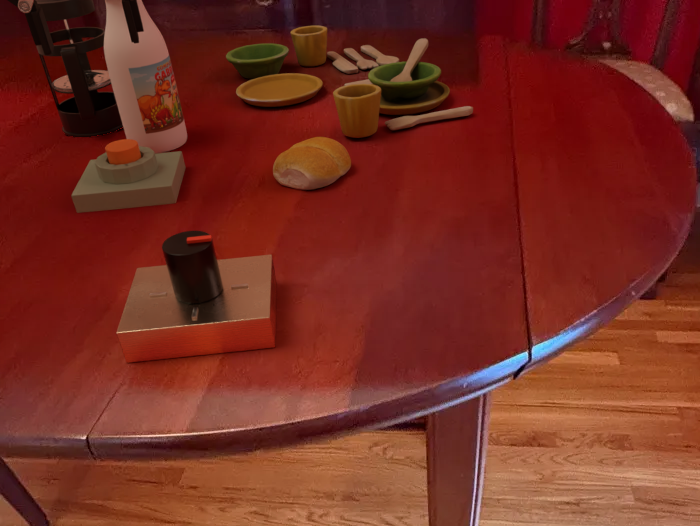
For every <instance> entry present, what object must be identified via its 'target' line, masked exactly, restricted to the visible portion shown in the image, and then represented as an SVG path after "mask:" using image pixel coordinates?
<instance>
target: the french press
mask: <svg viewBox="0 0 700 526" xmlns="http://www.w3.org/2000/svg"><path fill="white" fill-rule="evenodd" d="M35 1H37V4H38V6H40V8H42V10H43V13H44V16H45V19H46V22H56V21H57V22H58V21H63V23H64V26H65V29H59V30H56V31H52V32H50V35H51V38H52V41H53V44H54V49H53V52H52V53H51V55H46V56H45V54H44V52H43V49H42V46H41V45H38V46H36V45H35V47H36V50H37V53H38V56H39V59H40V62H41V65H42V69H43V71H44V74H45V78H46V80H47V84H48V86H49V89H50V92H51V95H52V98H53V101H54V104H55V107H56V110H57V113H58V116H59V119H60V122H61V125H62V127H61V129H62V133H63V132H64V133H65V134H66V135H68V136H67V137H70V136H73V137H72V138H75V137H89V138H92V137H91V136H97V135H102V136H104V135H103V134H107V133H110V132H113V133H115V132H114V131H116V130H118V129H120V128H122V127H123V124H122V120H121V117H120V113H119V109H118V106H117V102H116V99H115V95H114V91H98V90H101V89H104V88H106V87H108V86H110V85H112V84H111V80H110V76H109V72H108V70H104V69H94V70H93V69H92V68H91V64H90V60H89V57H88V54H87V53H90V52H93V51H96V50H98V49H101V48H104V35H105V29H104V28H101V27H96V26H82V27H71V28H70V26H69V23H68V20H71V19H75V18H81V17H84V16H87V15H89V14H92V13H93V12H95V10H96V8H95V3H94V0H35ZM85 38H86V40H83V39H85ZM89 38H90V39H89ZM62 41H63V42H64V41H68V42H69V43H65V44H55V43H60V42H62ZM45 57H61V58H62V62H63V66H64V69H65V72H66V75H63V76H60V77H58V78H57V79H54V80H53V81H52V77H51V75H50V72H49V69H48V66H47V63H46V60H45ZM57 93H60V94H65V95H66V94H69V95H73V96H72V97H69V98H67V99H65V100H62V101H61V102H60V103H59V100H58V96H57ZM64 133H63V134H64ZM65 134H64V135H65ZM110 134H111V133H110ZM66 135H65V136H66ZM107 135H108V134H107ZM97 137H98V136H97Z"/></svg>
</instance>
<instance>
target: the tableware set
mask: <svg viewBox="0 0 700 526" xmlns="http://www.w3.org/2000/svg"><path fill="white" fill-rule="evenodd" d="M289 32H290V37H291V40H292V44H293V47H294V53H295V55H296V59H297V63H298V64H299V66H301V67H306V68H307V67H317V66H321V65H323V64H325V63H326V60H327V58H328V59H330V60H332V61H333V62H332V66H334V68H336V69H337V70H339V71H340V72H341V73H344V74H347V75H352V74H357V73H359V70H363V71H365V70H367V69H371V70H370V71H369V72H368V73H367V79H363V80H362V79H361V80H357V81H352V82H346V83H344V85H342V86H340V87H338V88H335V89H334V91H333V92H332V95H333V100H334V103H335V108H336V111H337V112H336V113H337V117H338V120H339V125H340V129H341V133H342V134H343V135H344V136H346V137H348V138H353V139H360V138H361V139H362V138H366V137H370V136H372V135H374V134H376V133H377V131H378V128H379V119H380V118H379V116H380V114H382V115H389V116H400V117H396V118H392V119H389V120H386V121H384V125H385V126H386V127H387V128H388V129H389V130H390V131H398V130H403V129H408V128H413V127H414V126H416V125H418V124H422V123H423V124H424V123H429V122H435V121H442V120H450V119H455V118H461V117H468V116H470V115H472V114H473V113H474V107H473V106H470V105H464V106H460V107H455V108H450V109H444V110H439V111H434V112H433V111H432V112H429V113H425V112H428V111H431V110H433V109H435V108H437V107H439V106H440V105H441V104H442V103H444V101H445V100H446V99H447V98H448V97H449V95H450V92H451V90H450V87H449V86H448V85H447V84H445V83H444V82H441V81H438V80H439V78H440V77H441V75H442V69H441V68H440V67H439V66H437V65H436V64H433V63H430V62H424V61H421V59H422V57H423V55H424V54H425V52H426V51H427V49H428V47H429V40H428V39H427V38H425V37H424V38H419V39H417V40H416V41H415V43H414V45H413V47H412V49H411V51H410V54H409V56H408V59H407V60H406V61H400V58H399V57H397V56H393V55H385V54H383V53H382V52H380V51H379V50H378V49H376V48H375V47H374V46H372V45H370V44H365V45H364V44H363V45H361V46H360V52H361V53H363V54H365V55H367V56H368V57H371V58H372V59H375V61H374V60H371V59H366V58H364V57H363V56H362V55H361V54H360V53H358V51H356V50H355V49H354V48H352V47H346V48H344V49H343V54H344V55H345V56H347V57H348V58H349V59H351V60H353V61H354V62H356V65H355V64H353V62H350V61H349V60H348V59H346V58H345V57H343V56H342V55H340V54H339V53H337V52H336V51H333V50H332V51H327V49H328V48H327V47H328V27H327V26H323V25H317V24H316V25H306V26H299V27H296V28H294V29H292V30H291V31H289ZM289 52H290V49H289V48H288V46H286V45H283V44H280V43H272V42H271V43H255V44H254V43H253V44H248V45H243V46H239V47H236V48H234V49H231V50H229V51H228V52H227V53H226V55H225V58H226V61H228V62H229V63H230V64H232V66H233V67H234V69H235V71H237V72H238V73H239V75H240V76H241V77H242V78H245V79H249V80H247V81H245V82H243V83H241V84H240V85H239V86H238V87H237V88H236V89H235V90H236V91H235V94H236V96H238V98H239V99H241V100H242V101H243V102H245V103H247V104H248V105H250V106H255V107H263V108H276V107H285V106H292V105H296V104H300V103H304V102H306V101H309V100H311V99H312V98H314V97H315V96H317V94H318V92H319V91H320V90H321V89H322V87H323V84H324V82H323V81H322V79H321V78H320V77H317V76H315V75H312V74H306V73H295V72H289V73H287V72H285V73H280V71H281V69H282V66H283V63H284V61H285V59H286V58H287V56H288V54H289ZM420 113H423V114H420ZM413 114H420V115H413ZM401 115H403V116H401Z"/></svg>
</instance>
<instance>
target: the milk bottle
mask: <svg viewBox="0 0 700 526" xmlns="http://www.w3.org/2000/svg"><path fill="white" fill-rule="evenodd" d="M104 3H105V8H106V9H105V10H106V20H105V27H104V28H105V29H104V30H105V35H104V46H103V54H104V59H105V63H106V67H107V71H108V72H109V76H110V80H111V84H110V85H111V88H112V92H114V95H115V99H116V102H117V106H118V109H119V113H120V117H121V120H122V124H123V131H124V134H125V139H132V140H136V141H137V142H138V146H142V147H149V148H150V149H152V150H153V151H154V152H155V154H157V153H168V152H170V151H171V152H172V151H174V150H177V149H178V148H180V147H182V146H183V145H184V144H186V143H187V140H188V133H187V132H188V131H187V127H186V123H185V117H184V113H183V109H182V105H181V100H180V95H179V90H178V86H177V82H176V77H175V74H174V69H173V64H172V61H171V57H170V53H169V49H168V45H167V44H166V41H165V38H164V36H163V35H162V33H161V31H160V30H159V28H158V26H157V25H156V23H155V22H154V21H153V19H152V18H151V16H150V14H149V12H148V11H147V9H146V7H145V5H144V2H143V0H137V4H138V8H139V12H140V16H141V20H142V24H143V29H144V32H138V36H139V43H135V44H134V42H131V38H130V34H129V30H128V26H127V22H126V18H125V14H124V10H123V6H122V0H104Z"/></svg>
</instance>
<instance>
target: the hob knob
mask: <svg viewBox="0 0 700 526" xmlns="http://www.w3.org/2000/svg"><path fill="white" fill-rule="evenodd" d="M161 249H162V253H163V257H164V260H165V265H167V268H168V272H169V276H170V279H171V283H172V287H173V290H174V294H175V297H176V298H177V299H178V300H179V301H181V302H184V303H201V302H205V301H208V300H211V299H213V298H215V297H216V296H218V295H219V294H220V293H221V291H222V289H223V284H222V279H221V275H220V270H219V266H218V261H217V260H218V257H217V252H216V249H215V244H214V239H213V236H212V234H210V233H208V232H206V231H203V230H186V231H182V232H178V233H176V234H173V235H171V236H169V237H167V238H166V239H164V240H163V242H162V245H161Z"/></svg>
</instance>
